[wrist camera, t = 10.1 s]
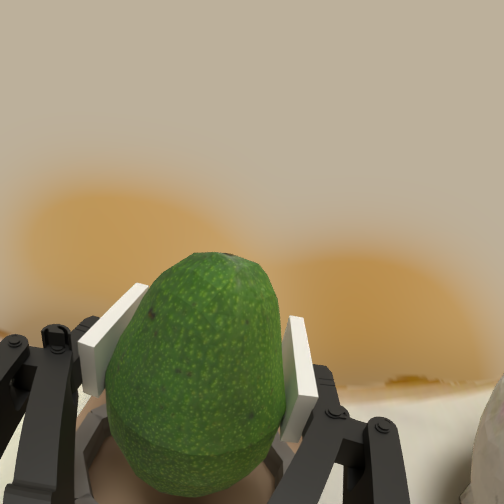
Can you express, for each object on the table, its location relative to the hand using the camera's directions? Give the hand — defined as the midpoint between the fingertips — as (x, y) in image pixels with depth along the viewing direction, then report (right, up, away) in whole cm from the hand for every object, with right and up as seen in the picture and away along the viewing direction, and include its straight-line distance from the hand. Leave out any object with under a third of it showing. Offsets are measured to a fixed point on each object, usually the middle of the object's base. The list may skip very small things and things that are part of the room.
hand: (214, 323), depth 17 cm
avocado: (-2, -8, -3) cm, 8 cm away
